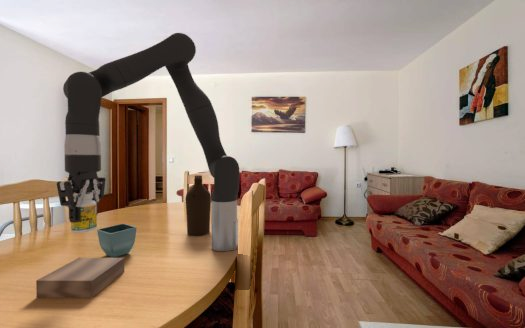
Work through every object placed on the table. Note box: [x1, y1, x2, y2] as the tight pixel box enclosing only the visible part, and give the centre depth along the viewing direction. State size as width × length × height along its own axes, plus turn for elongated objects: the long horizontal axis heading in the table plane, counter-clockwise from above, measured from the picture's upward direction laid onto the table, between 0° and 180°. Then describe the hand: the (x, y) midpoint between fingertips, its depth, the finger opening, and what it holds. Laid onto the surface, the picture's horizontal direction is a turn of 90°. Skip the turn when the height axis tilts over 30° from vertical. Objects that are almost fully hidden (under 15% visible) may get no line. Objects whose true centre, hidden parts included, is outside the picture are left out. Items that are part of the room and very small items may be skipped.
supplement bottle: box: [70, 192, 98, 234], centre depth 63 cm, size 5×5×10 cm
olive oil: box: [185, 174, 212, 237], centre depth 105 cm, size 11×11×25 cm
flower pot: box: [96, 223, 137, 258], centre depth 82 cm, size 9×9×9 cm
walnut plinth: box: [35, 257, 125, 299], centre depth 63 cm, size 13×13×4 cm
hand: (84, 218), depth 63 cm, fingers closed on supplement bottle, 5 cm apart
